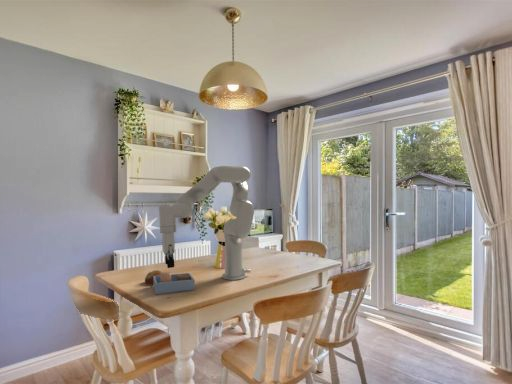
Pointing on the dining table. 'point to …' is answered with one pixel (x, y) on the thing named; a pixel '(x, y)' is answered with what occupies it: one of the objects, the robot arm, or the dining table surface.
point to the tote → (173, 284)
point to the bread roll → (151, 277)
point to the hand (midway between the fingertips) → (169, 265)
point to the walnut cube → (182, 277)
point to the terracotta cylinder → (165, 277)
